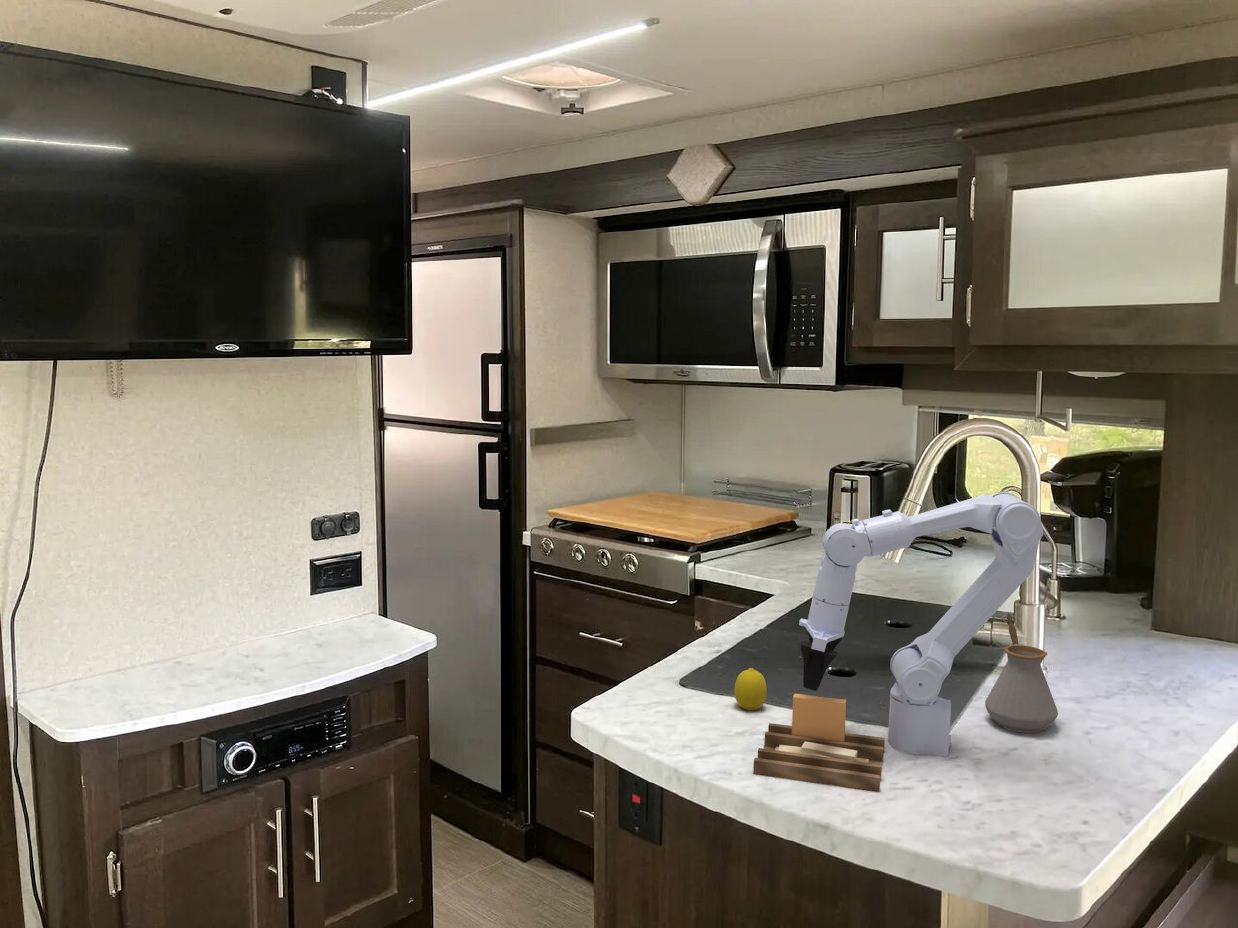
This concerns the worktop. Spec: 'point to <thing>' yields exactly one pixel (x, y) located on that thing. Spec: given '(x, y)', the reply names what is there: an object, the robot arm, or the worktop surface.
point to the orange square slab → (819, 717)
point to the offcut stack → (823, 751)
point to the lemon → (750, 689)
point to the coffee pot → (1022, 690)
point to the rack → (821, 760)
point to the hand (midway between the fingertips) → (813, 680)
